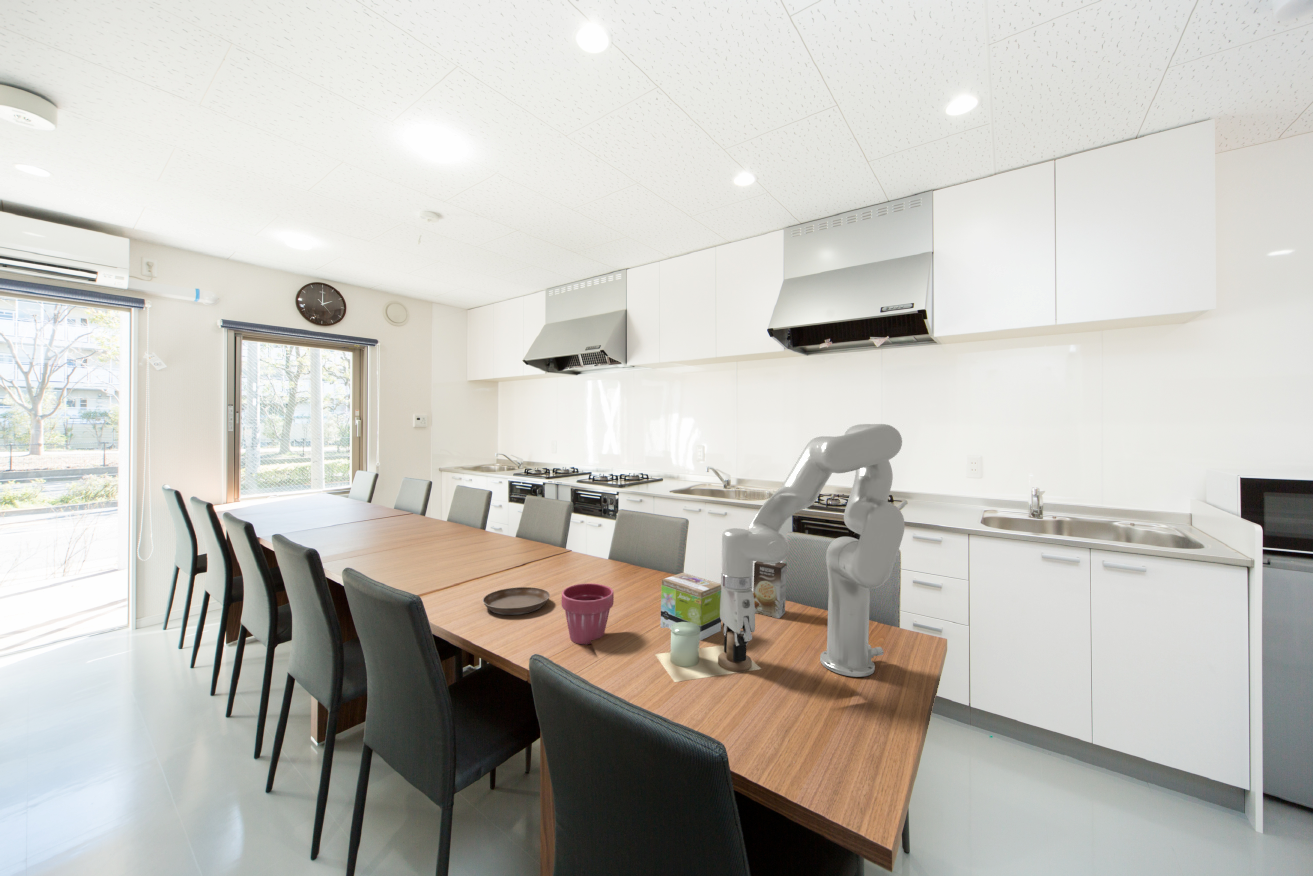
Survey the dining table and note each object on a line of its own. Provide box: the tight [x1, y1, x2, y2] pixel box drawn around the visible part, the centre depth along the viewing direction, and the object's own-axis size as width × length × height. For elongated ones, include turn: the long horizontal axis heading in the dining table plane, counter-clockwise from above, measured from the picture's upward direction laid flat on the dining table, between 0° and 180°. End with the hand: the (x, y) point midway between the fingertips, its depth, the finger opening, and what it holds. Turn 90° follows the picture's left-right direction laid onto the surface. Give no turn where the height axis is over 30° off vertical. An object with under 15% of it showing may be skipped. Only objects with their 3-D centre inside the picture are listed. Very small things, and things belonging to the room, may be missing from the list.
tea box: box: [660, 572, 722, 641], centre depth 138 cm, size 15×10×15 cm, turn 47°
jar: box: [670, 622, 701, 667], centre depth 118 cm, size 7×7×8 cm
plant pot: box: [561, 582, 615, 645], centre depth 132 cm, size 14×14×13 cm
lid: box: [718, 631, 753, 673], centre depth 117 cm, size 8×8×7 cm
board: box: [654, 644, 762, 683], centre depth 118 cm, size 22×14×1 cm, turn 109°
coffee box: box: [752, 561, 788, 619], centre depth 154 cm, size 9×6×16 cm
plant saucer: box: [482, 586, 551, 616], centre depth 155 cm, size 21×21×3 cm
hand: (734, 655), depth 117 cm, fingers closed on lid, 4 cm apart
